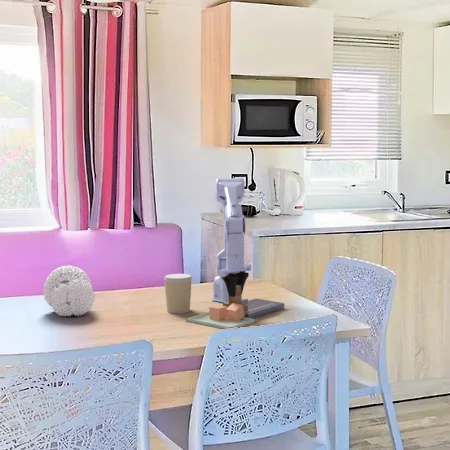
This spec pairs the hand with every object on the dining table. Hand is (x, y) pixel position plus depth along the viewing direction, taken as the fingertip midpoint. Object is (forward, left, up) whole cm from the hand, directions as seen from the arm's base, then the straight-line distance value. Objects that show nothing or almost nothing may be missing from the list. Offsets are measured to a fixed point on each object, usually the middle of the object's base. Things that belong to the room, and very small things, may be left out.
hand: (235, 295), depth 244 cm
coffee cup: (-21, -5, -8) cm, 23 cm away
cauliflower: (-47, -29, -8) cm, 56 cm away
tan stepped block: (0, 0, -5) cm, 5 cm away
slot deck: (0, +9, -7) cm, 12 cm away
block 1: (-2, -4, -5) cm, 7 cm away
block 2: (+3, -3, -6) cm, 8 cm away
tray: (0, -7, -7) cm, 10 cm away
